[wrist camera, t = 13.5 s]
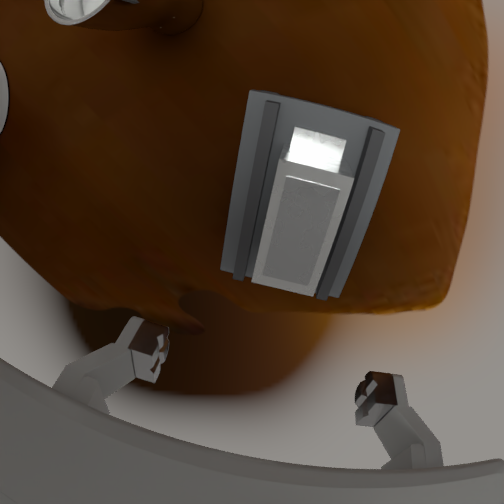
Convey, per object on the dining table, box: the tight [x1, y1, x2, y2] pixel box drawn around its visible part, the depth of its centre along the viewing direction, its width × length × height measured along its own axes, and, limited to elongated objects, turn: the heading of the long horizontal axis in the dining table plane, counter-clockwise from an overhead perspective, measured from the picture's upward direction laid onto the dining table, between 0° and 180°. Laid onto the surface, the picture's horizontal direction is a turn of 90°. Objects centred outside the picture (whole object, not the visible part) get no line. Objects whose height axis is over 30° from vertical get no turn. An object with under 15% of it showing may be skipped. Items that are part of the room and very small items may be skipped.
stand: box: [220, 90, 400, 300], centre depth 28 cm, size 12×17×8 cm
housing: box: [251, 125, 354, 296], centre depth 24 cm, size 13×5×5 cm, turn 169°
